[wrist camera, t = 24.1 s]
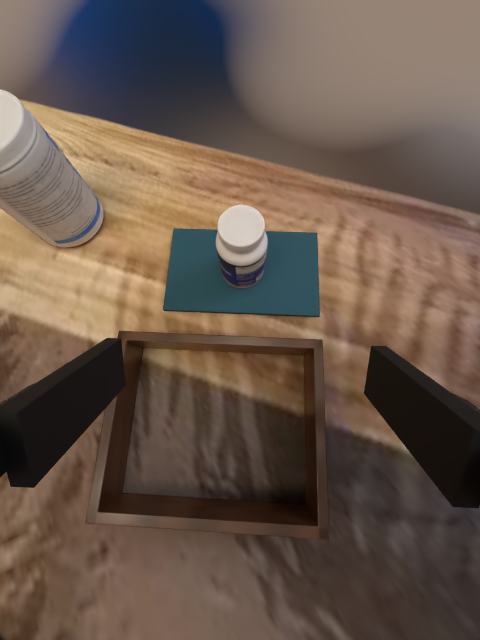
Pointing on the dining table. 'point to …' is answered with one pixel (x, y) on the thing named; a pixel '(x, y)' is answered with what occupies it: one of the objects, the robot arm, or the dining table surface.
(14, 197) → the supplement tub
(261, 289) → the mat
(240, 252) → the pill bottle
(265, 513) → the wooden tray
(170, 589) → the dining table surface
